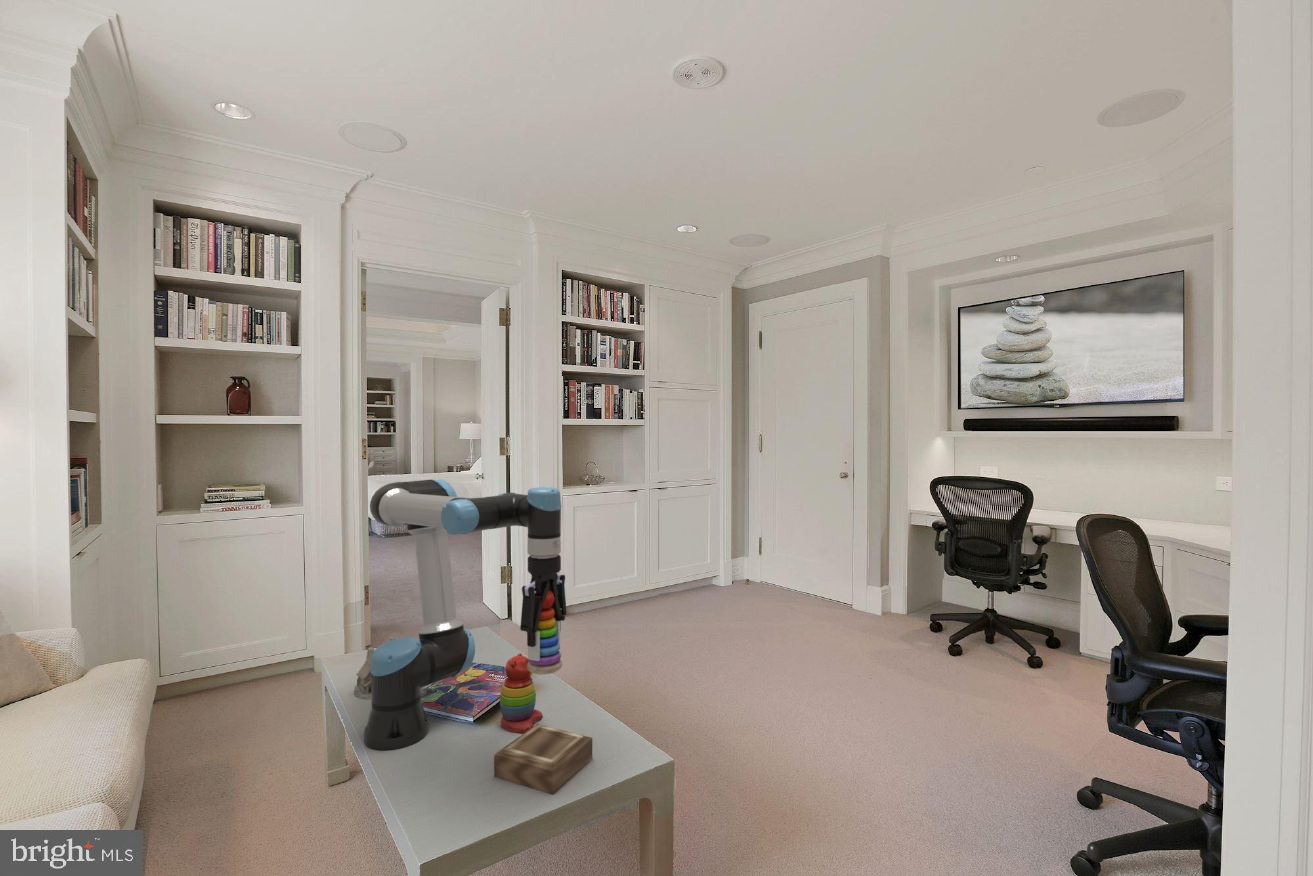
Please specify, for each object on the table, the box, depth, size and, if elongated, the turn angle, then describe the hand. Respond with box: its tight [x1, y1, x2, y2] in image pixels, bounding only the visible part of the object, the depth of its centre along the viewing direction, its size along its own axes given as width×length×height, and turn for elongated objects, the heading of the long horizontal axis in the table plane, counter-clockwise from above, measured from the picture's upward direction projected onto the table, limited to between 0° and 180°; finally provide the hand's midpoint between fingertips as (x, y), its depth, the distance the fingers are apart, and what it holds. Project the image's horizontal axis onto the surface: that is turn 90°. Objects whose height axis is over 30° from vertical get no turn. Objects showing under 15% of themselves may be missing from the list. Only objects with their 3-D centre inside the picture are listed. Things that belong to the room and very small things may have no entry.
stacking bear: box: [499, 652, 543, 734], centre depth 166 cm, size 11×10×18 cm
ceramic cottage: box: [353, 636, 395, 700], centre depth 185 cm, size 16×16×15 cm
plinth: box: [493, 723, 593, 795], centre depth 144 cm, size 16×16×6 cm
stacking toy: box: [527, 591, 563, 676], centre depth 144 cm, size 8×8×19 cm
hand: (544, 653), depth 144 cm, fingers closed on stacking toy, 7 cm apart
